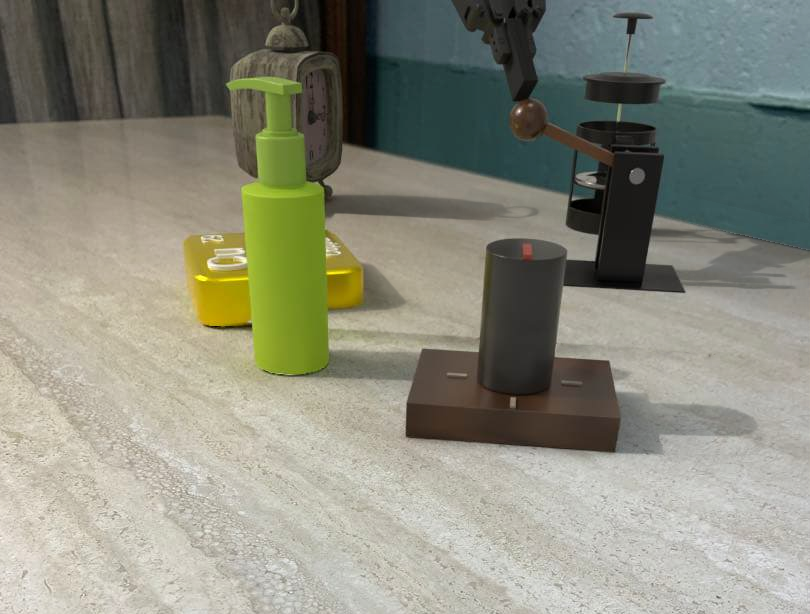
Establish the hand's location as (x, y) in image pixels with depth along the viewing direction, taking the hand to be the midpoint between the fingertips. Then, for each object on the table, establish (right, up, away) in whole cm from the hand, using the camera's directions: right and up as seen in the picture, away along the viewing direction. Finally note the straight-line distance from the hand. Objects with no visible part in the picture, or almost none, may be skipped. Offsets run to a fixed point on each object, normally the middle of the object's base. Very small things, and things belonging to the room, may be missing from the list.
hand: (525, 91), depth 79 cm
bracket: (+10, -16, +8) cm, 20 cm away
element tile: (-24, -18, +3) cm, 30 cm away
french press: (+13, -5, +25) cm, 28 cm away
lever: (+5, -5, +3) cm, 8 cm away
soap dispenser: (-21, -27, -10) cm, 35 cm away
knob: (-3, -30, -19) cm, 36 cm away
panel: (-4, -32, -17) cm, 37 cm away
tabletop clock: (-26, +3, +35) cm, 44 cm away
